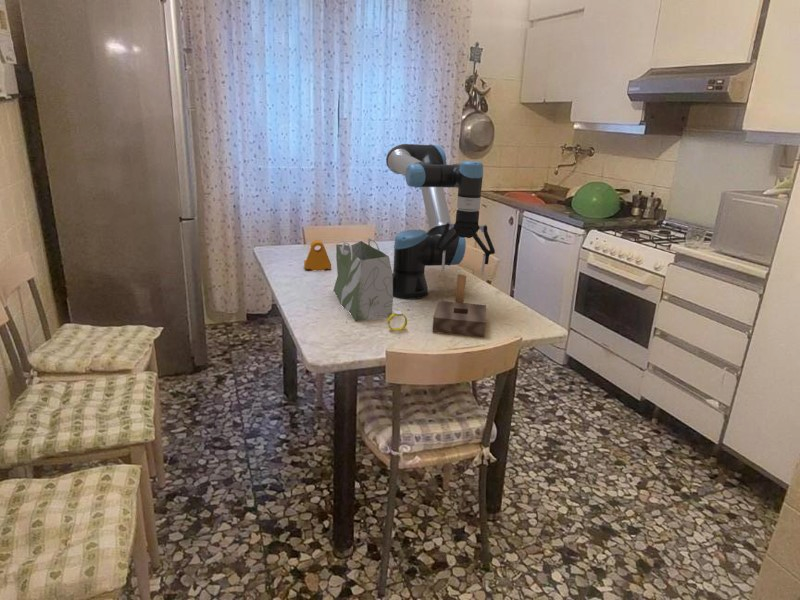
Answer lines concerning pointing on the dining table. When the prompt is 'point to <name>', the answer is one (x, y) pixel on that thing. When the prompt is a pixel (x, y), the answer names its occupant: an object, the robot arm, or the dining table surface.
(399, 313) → the yellow ring
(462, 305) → the socket block
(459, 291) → the peg
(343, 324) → the dining table surface
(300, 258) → the dining table surface
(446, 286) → the dining table surface
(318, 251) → the bracket
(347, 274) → the grocery bag
